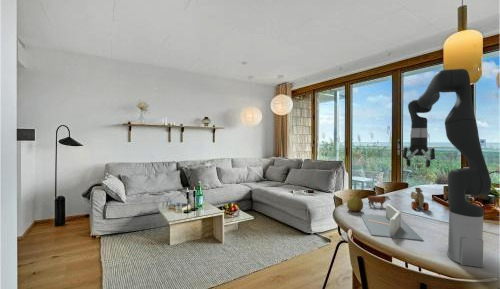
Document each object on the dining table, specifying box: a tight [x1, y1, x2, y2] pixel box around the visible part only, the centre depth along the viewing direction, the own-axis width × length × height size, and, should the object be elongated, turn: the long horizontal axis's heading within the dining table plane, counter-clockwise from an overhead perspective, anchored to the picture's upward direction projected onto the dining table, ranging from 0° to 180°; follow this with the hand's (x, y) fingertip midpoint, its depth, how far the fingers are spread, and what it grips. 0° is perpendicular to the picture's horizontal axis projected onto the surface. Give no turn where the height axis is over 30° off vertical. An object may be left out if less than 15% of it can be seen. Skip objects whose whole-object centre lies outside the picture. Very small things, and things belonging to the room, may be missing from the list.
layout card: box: [359, 213, 425, 242], centre depth 122 cm, size 32×20×1 cm, turn 164°
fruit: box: [346, 191, 364, 213], centre depth 148 cm, size 9×9×12 cm
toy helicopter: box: [410, 187, 430, 211], centre depth 157 cm, size 8×21×14 cm, turn 160°
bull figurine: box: [367, 194, 391, 208], centre depth 157 cm, size 4×13×8 cm, turn 78°
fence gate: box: [385, 203, 400, 219], centre depth 128 cm, size 14×2×7 cm, turn 169°
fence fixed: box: [390, 211, 402, 236], centre depth 114 cm, size 16×2×8 cm, turn 139°
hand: (418, 166), depth 130 cm, fingers open, 8 cm apart
